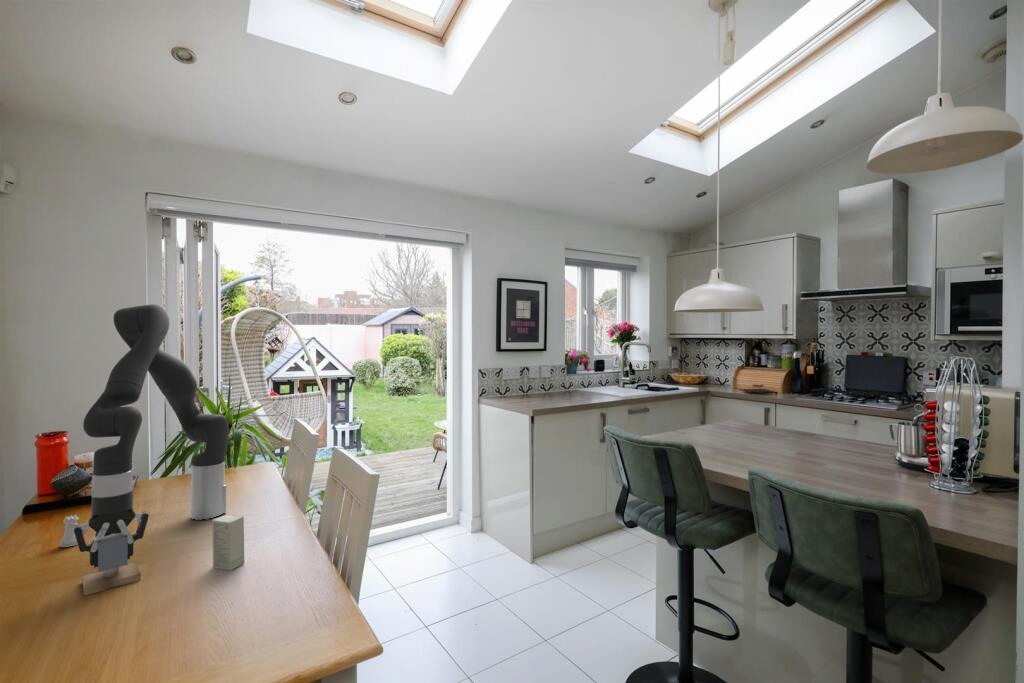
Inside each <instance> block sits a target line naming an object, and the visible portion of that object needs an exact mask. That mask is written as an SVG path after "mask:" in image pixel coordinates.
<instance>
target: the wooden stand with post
mask: <svg viewBox="0 0 1024 683" xmlns="http://www.w3.org/2000/svg"><path fill="white" fill-rule="evenodd" d="M141 575H142V574H141V571H140V568H139V566H138V563H137V562H132V563H129V564H128V563H127V565H125V566H121V567H117V568H113V569H109V570H106V571H102V572H98V571H96V572H92V573H89V574H88V573H87V574H83V575H82V576H81V585H83V586H82V590H83V591H84V592H83V596H84V595H85V596H88V595H91V594H95V593H99V592H102V591H106V590H110V589H113V588H117V587H120V586H123V585H128V584H132V583H136V582H140V581H141V579H142V578H141Z"/></svg>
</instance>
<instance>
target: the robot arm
mask: <svg viewBox="0 0 1024 683" xmlns="http://www.w3.org/2000/svg"><path fill="white" fill-rule="evenodd" d="M113 324H114V328H115V330H116V332H117V333H118V335H119V336H120V337H121V340H123V341H124V342H125V344H126V345H127V346H128V348H130V350H129V351H127V352H126V353H125V354H124V355H123V357H121V358H120V359H119V360H118V362H116V364H115V365H114V366H113V368H112V369H111V372H110V373H109V376H108V380H107V383H106V386H105V388H104V391H103V392H102V393H101V395H100V396H99V397H98V399H97V400H96V401H95V403H93V405H92V406H91V407H90V408H89V410H88V412H86V414H85V416H84V419H83V423H82V424H83V425H82V426H83V427H82V428H83V431H84V432H85V434H86V435H87V436H89V437H90V438H95V439H96V438H113V437H114V438H116V437H117V438H119V440H118V443H116V444H113V445H108V446H104V447H100V448H98V449H96V450H95V452H94V454H93V473H92V474H93V477H92V482H91V511H90V512H91V515H90V517H89V519H88V521H87V522H85V523H81V524H78V525H75V526H74V527H73V529H74V533H75V536H76V540H77V543H78V545H77V546H78V548H79V549H78V550H79V552H81V553H85V552H88V553H89V565H90V566H91V567H93V568H94V569H97V567H98V550H97V549H98V542H101V541H102V539H103V537H104V536H108V535H111V534H118V533H121V532H122V533H123V535H124V537H125V536H127V537H128V555H127V561H128V560H130V559H131V557H133V555H134V545H135V544H134V543H135V542H136V541H138V540H141V539H143V538H144V534H145V530H146V528H147V524H148V520H149V516H150V515H149V513H148V511H142V512H135V511H134V508H133V507H134V484H135V483H134V476H133V475H134V474H133V450H134V447H135V442H136V440H137V437H138V434H139V432H140V429H141V425H142V421H143V416H142V413H141V411H140V410H139V409H138V408H137V407H134V406H130V405H132V404H135V403H136V402H138V401H139V399H140V396H141V394H142V390H143V387H144V382H145V380H146V376H147V373H149V374H150V376H151V378H152V380H153V381H154V383H155V385H156V386H157V388H158V389H159V390H160V392H161V393H162V395H163V396H164V398H165V399H166V400H167V402H168V404H169V405H170V407H171V408H172V410H173V412H174V413H175V415H176V417H177V419H178V422H179V424H180V426H181V428H182V430H183V432H184V434H185V436H186V437H187V438H188V440H190V441H192V442H195V443H202V444H203V443H205V444H206V445H205V450H204V451H201V452H199V453H196V454H194V455H192V457H191V484H190V489H191V491H190V492H191V493H190V494H191V496H190V498H191V499H190V501H191V502H190V519H191V518H192V519H191V520H193V519H195V520H194V521H203V520H202V519H206V520H209V519H208V518H212V519H214V518H213V517H216V516H218V515H221V514H223V513H226V514H227V484H225V477H226V476H225V473H226V472H225V471H226V470H225V469H226V468H225V467H226V466H225V465H226V463H225V462H226V455H227V451H228V445H229V444H228V442H229V441H228V440H229V429H230V428H229V422H228V419H227V417H226V416H225V415H223V414H215V413H214V414H213V413H212V414H211V413H208V414H207V413H203V412H202V411H201V410H200V409H199V408H198V406H197V404H196V402H195V400H196V395H197V392H198V383H197V379H196V377H195V375H193V372H192V371H191V369H190V367H189V366H188V364H186V363H185V362H184V361H183V360H182V359H180V358H179V357H176V356H175V355H173V354H170V353H169V352H167V351H165V350H163V348H160V347H161V345H162V343H163V341H164V340H165V338H166V336H167V334H168V331H169V327H170V318H169V314H168V312H167V311H166V309H165V308H164V307H163V306H162V305H160V304H145V305H138V306H137V305H136V306H132V307H124V308H120V309H118V310H116V311H115V313H114V315H113ZM128 405H129V406H128ZM223 515H224V514H223ZM221 516H222V515H221ZM216 518H217V517H216ZM134 519H136V522H137V523H138V524H137V528H136V531H135V533H134V534H132V533H131V531H130V530H129V528H128V527H129V526H130V524H131V523H132V521H133V520H134ZM88 528H91V529H92V530H93V531H94V532H95V534H94V536H93V538H92V541H91V543H86V540H85V537H84V534H86V533H87V531H88V530H87V529H88Z"/></svg>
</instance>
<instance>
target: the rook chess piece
mask: <svg viewBox="0 0 1024 683" xmlns="http://www.w3.org/2000/svg"><path fill="white" fill-rule="evenodd" d="M78 520H80V519H79V517H78V515H77V514H73V515H71V514H70V515H69V516H68V515H67V516H65V517H64V519H63V521H62V522H63V523H64V524H65V525H64V526H63V527H64V534H63V536H62V537H61V538H62V539H61V540H60V542H59V543H60V545H59V547H60V548H61V547H70V546H74V547H76V546H75V545H77V546H78V543H77V540H76V536H75V533H74V529H73V527H74V526H75V525H79V524H78ZM70 548H71V547H70Z"/></svg>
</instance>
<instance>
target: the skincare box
mask: <svg viewBox="0 0 1024 683" xmlns="http://www.w3.org/2000/svg"><path fill="white" fill-rule="evenodd" d="M244 518H245V517H244V516H241V515H234V514H227V513H226V514H223V515H221V516H219V517H216V518H212V519H211V521H212V522H211V525H212V529H211V530H212V567H213V568H216V569H220V570H226V571H232V570H233V569H236V568H238V567H241V565H243V564H245V529H244V528H245V524H244V523H245V522H244V521H245V519H244Z"/></svg>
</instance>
